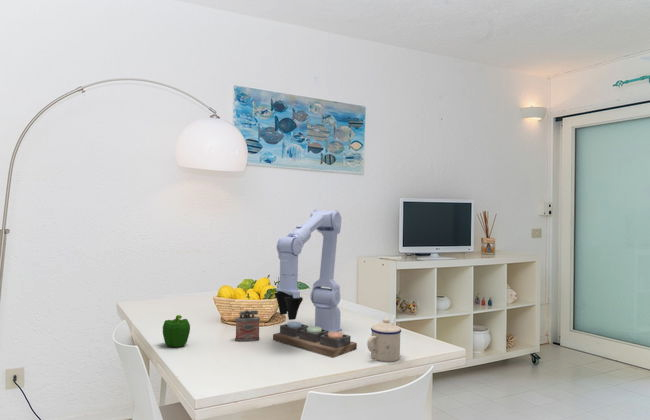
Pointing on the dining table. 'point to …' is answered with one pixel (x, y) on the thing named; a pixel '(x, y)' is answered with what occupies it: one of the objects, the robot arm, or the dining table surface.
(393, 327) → the teacup with lid
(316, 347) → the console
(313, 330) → the button sage
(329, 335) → the button terracotta
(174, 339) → the bell pepper
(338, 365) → the dining table surface
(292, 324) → the button slate
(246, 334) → the lighter
